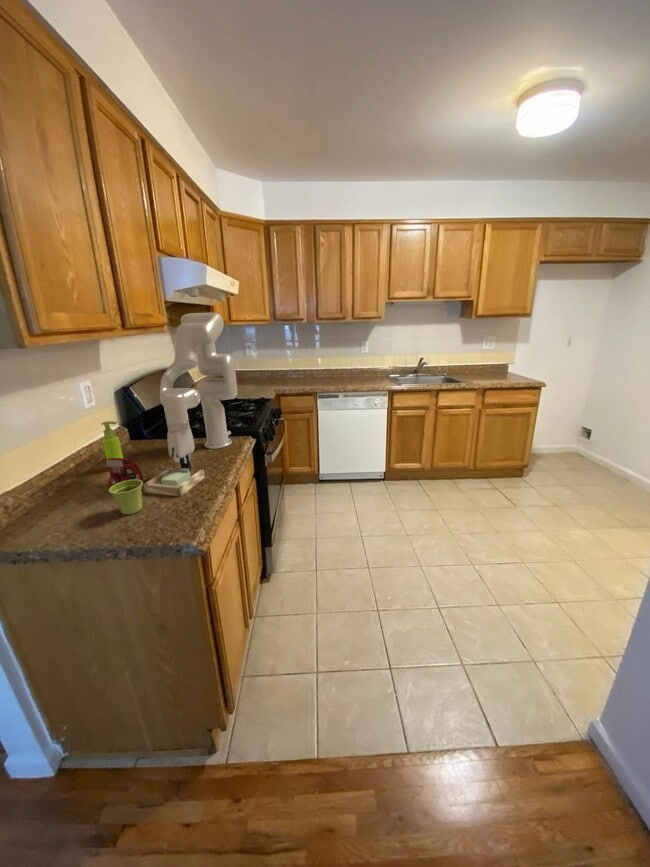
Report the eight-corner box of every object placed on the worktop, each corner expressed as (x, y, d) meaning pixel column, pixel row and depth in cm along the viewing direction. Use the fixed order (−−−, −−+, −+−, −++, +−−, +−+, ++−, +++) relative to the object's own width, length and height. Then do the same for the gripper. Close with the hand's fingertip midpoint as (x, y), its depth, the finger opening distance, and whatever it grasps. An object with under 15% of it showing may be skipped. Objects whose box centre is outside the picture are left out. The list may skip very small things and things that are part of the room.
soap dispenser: (123, 470, 144) (111, 423, 138) (106, 471, 144) (94, 424, 138) (130, 464, 150) (120, 419, 143) (114, 465, 150) (103, 420, 143)
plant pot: (111, 510, 114) (105, 486, 111) (141, 499, 120) (136, 476, 117) (121, 521, 108) (114, 496, 105) (152, 509, 114) (147, 485, 111)
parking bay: (170, 474, 139) (169, 467, 138) (204, 477, 135) (203, 470, 134) (144, 492, 125) (142, 484, 124) (181, 496, 122) (179, 488, 121)
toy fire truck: (136, 488, 128) (130, 462, 125) (105, 487, 130) (99, 461, 127) (148, 480, 135) (142, 455, 131) (118, 479, 136) (112, 454, 133)
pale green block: (176, 478, 136) (174, 467, 135) (191, 479, 135) (189, 468, 133) (162, 488, 129) (160, 476, 127) (178, 489, 127) (176, 478, 126)
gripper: (182, 420, 138) (189, 463, 144) (156, 432, 124) (165, 479, 130) (199, 420, 136) (205, 464, 142) (174, 433, 123) (183, 480, 129)
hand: (186, 471), depth 136 cm, fingers closed
